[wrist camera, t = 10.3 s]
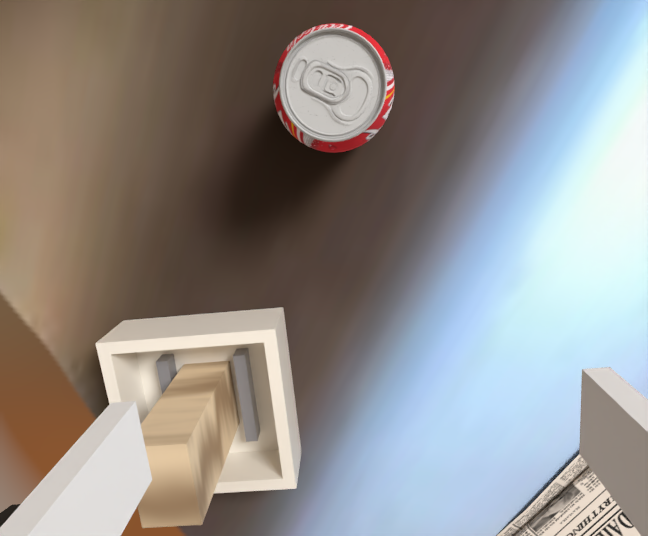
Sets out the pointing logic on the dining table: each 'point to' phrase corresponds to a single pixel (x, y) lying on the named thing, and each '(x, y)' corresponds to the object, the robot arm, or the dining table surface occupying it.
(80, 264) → the dining table surface
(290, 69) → the soda can
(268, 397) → the white slotted box
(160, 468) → the light wood block
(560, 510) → the newspaper
